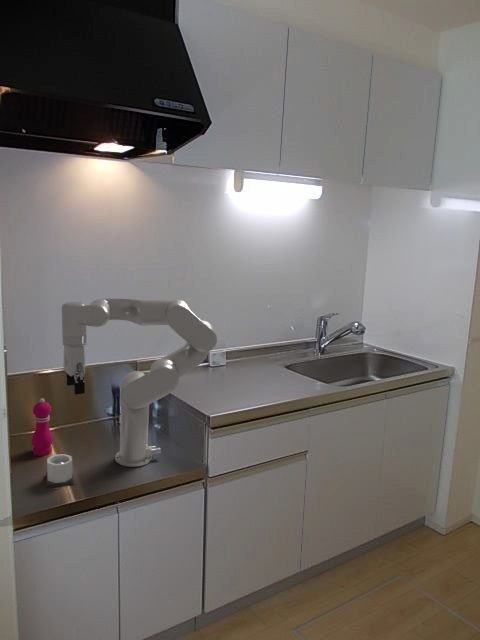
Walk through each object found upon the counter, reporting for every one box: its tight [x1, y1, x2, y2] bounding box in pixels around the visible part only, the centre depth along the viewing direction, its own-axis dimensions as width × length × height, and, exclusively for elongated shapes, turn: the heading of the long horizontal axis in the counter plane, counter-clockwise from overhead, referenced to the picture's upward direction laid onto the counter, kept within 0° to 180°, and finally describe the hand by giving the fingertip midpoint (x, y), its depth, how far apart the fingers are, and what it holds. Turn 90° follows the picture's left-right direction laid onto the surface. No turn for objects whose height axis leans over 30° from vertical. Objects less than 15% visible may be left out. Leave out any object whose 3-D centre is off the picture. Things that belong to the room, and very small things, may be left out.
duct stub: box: [45, 460, 74, 488], centre depth 175 cm, size 8×8×6 cm
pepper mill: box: [30, 397, 54, 457], centre depth 192 cm, size 7×7×20 cm
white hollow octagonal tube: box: [46, 453, 73, 483], centre depth 175 cm, size 7×7×6 cm
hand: (75, 389), depth 184 cm, fingers open, 9 cm apart
